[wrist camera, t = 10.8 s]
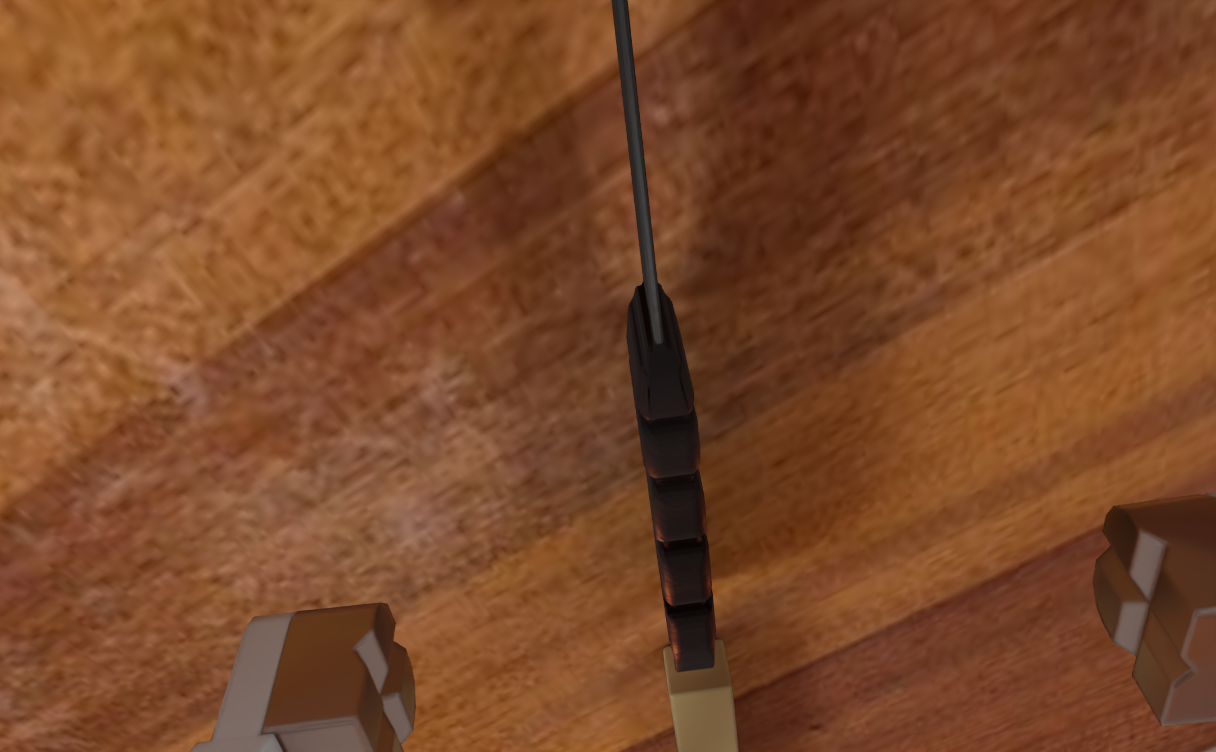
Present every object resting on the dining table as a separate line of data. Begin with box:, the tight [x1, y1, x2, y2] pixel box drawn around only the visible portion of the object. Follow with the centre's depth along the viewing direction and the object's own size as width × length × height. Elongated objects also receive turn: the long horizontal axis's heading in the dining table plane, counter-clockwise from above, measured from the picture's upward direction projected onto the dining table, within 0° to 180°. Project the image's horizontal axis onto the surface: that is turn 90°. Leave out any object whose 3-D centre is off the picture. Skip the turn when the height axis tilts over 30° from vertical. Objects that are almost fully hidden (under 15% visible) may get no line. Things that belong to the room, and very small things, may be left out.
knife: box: [612, 0, 716, 673], centre depth 16 cm, size 17×1×3 cm, turn 7°
